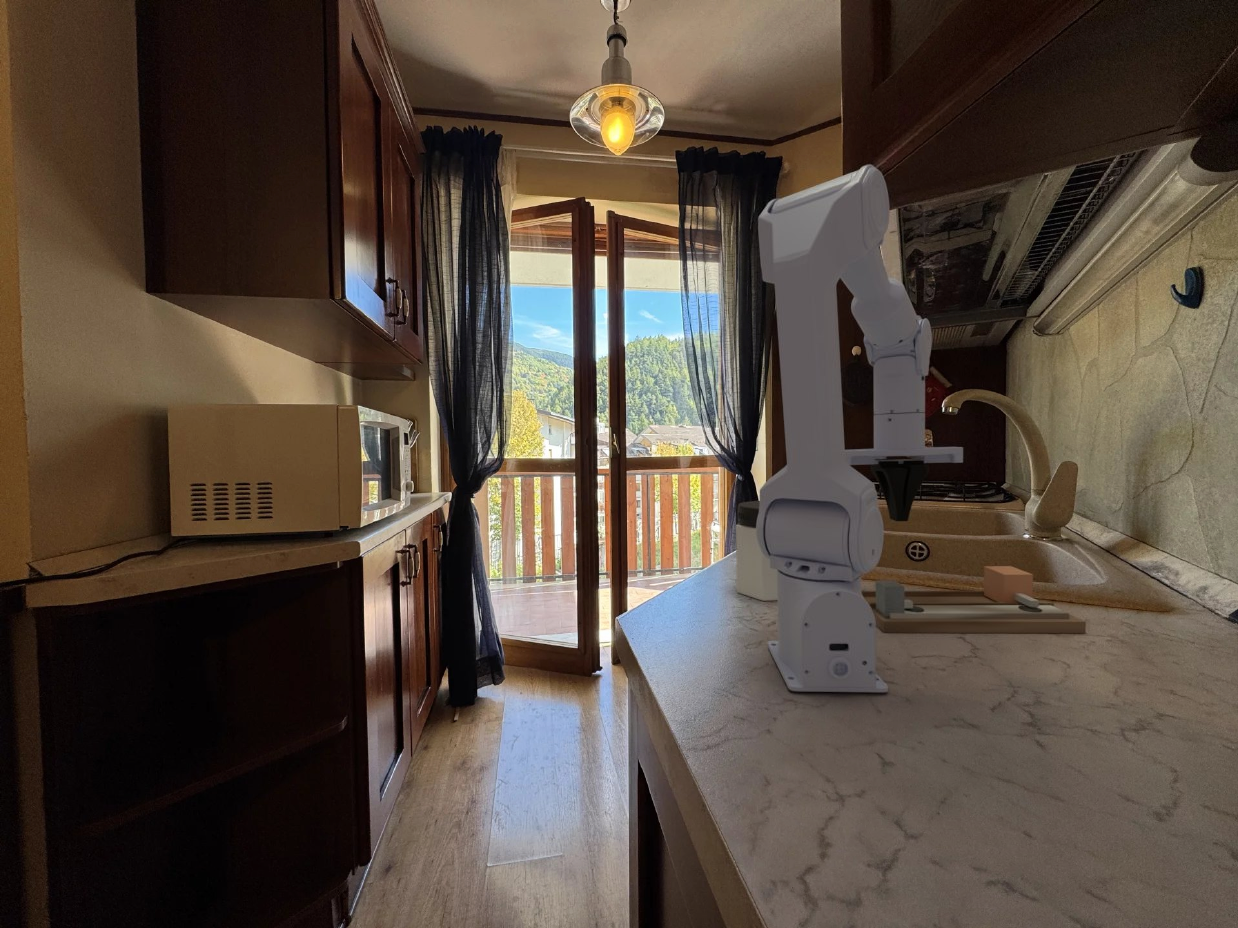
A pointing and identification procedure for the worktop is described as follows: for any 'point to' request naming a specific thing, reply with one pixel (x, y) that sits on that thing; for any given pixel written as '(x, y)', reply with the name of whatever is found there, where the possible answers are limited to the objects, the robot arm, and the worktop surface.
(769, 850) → the worktop surface
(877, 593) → the fixed leg
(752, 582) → the jar
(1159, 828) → the worktop surface
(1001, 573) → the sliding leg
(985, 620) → the board
